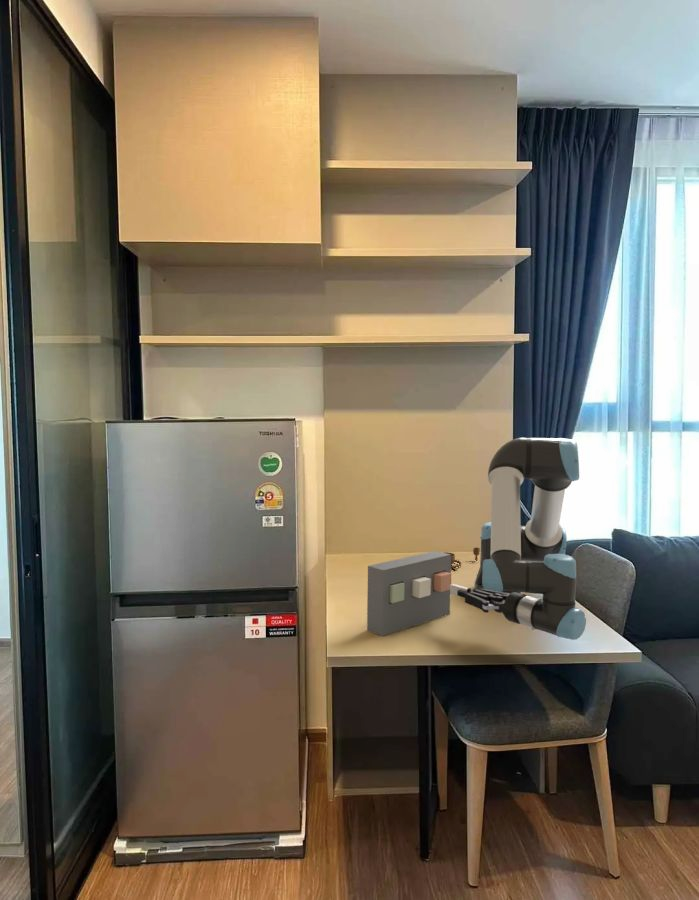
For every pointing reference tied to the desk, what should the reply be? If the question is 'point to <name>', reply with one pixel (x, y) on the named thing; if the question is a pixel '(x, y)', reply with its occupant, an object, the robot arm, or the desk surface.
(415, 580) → the cream button
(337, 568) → the desk surface
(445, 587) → the terracotta button
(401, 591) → the sage green button
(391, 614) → the button panel
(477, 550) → the place setting
